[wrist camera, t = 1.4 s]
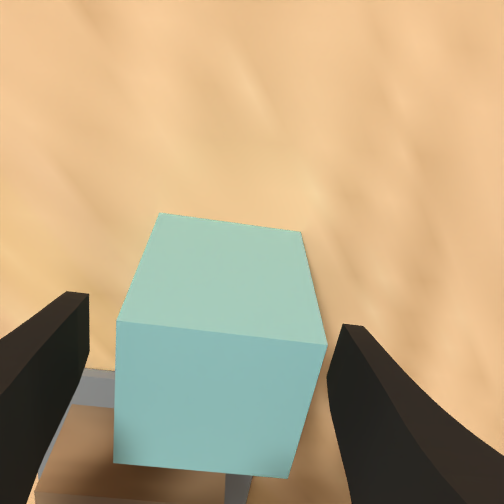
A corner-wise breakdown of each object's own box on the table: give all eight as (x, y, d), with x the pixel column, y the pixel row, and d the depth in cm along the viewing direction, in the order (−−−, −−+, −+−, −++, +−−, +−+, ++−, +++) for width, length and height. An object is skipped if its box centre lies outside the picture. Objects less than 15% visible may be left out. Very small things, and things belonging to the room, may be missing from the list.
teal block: (300, 231, 15) (327, 344, 10) (275, 340, 17) (288, 478, 12) (159, 212, 15) (116, 320, 10) (151, 326, 17) (113, 462, 12)
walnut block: (227, 419, 18) (224, 507, 15) (210, 512, 21) (204, 602, 18) (71, 403, 18) (34, 491, 15) (75, 501, 21) (44, 592, 17)
